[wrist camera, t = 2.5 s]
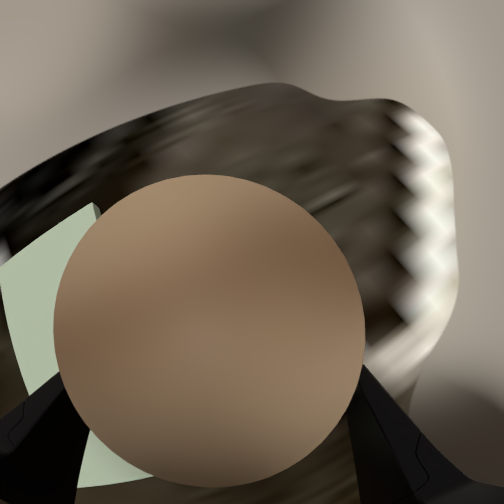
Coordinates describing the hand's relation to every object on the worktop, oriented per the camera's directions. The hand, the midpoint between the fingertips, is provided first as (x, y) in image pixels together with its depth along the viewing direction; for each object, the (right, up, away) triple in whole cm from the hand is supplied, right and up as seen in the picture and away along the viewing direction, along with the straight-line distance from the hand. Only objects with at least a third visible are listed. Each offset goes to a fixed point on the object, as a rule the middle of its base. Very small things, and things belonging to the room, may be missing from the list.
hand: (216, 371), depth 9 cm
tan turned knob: (0, -1, +9) cm, 9 cm away
